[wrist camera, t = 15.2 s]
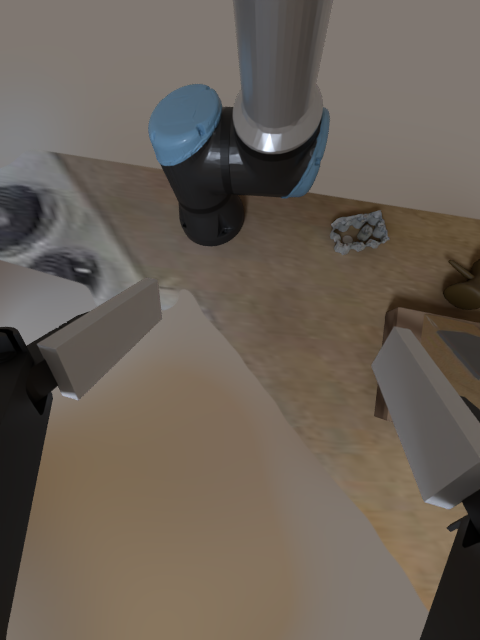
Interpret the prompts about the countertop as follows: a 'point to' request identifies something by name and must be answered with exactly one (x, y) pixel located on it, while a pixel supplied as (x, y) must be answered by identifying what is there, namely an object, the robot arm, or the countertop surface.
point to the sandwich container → (455, 353)
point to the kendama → (465, 288)
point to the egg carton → (363, 235)
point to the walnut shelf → (415, 324)
